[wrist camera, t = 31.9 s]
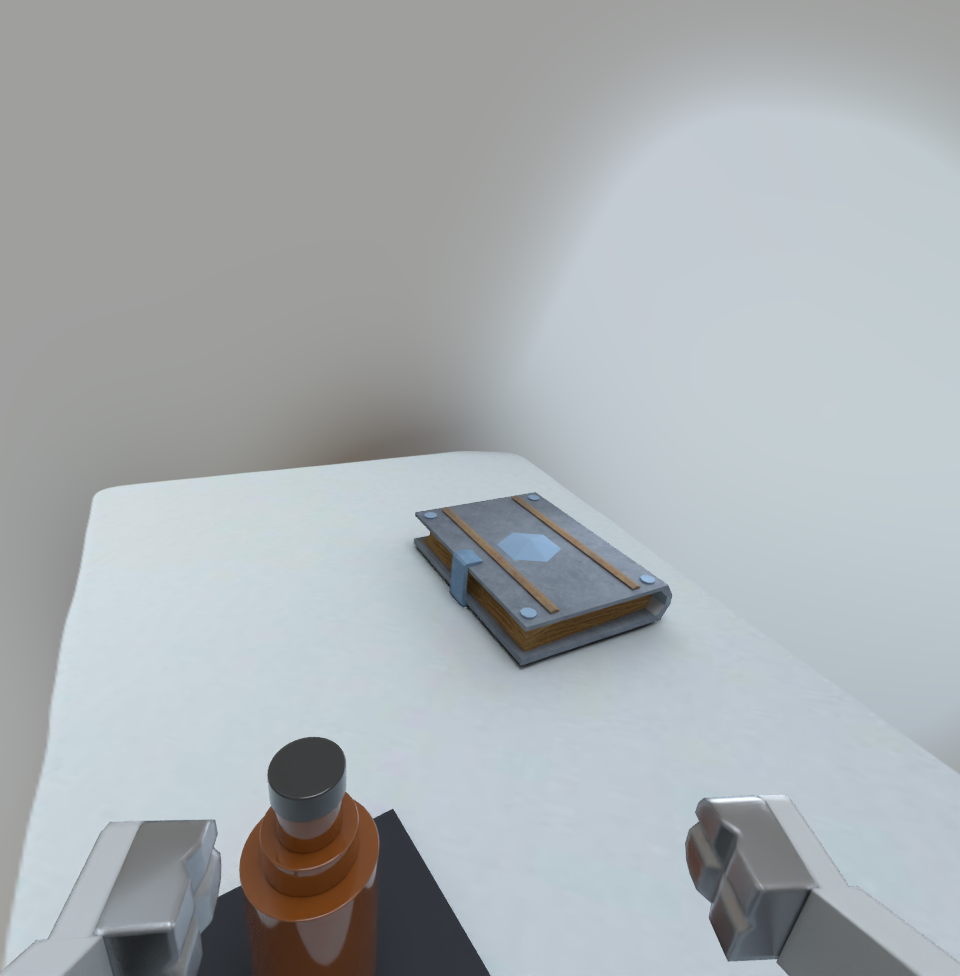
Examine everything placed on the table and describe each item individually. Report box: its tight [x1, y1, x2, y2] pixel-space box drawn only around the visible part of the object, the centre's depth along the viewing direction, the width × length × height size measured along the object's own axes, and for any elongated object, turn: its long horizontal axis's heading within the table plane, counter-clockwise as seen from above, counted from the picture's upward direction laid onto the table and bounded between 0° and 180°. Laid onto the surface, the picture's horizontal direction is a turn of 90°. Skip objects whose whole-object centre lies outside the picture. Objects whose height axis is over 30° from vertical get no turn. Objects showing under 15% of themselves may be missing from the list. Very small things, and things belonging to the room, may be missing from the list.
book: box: [414, 492, 672, 666], centre depth 58 cm, size 21×16×5 cm
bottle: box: [239, 737, 379, 976], centre depth 24 cm, size 5×5×14 cm
